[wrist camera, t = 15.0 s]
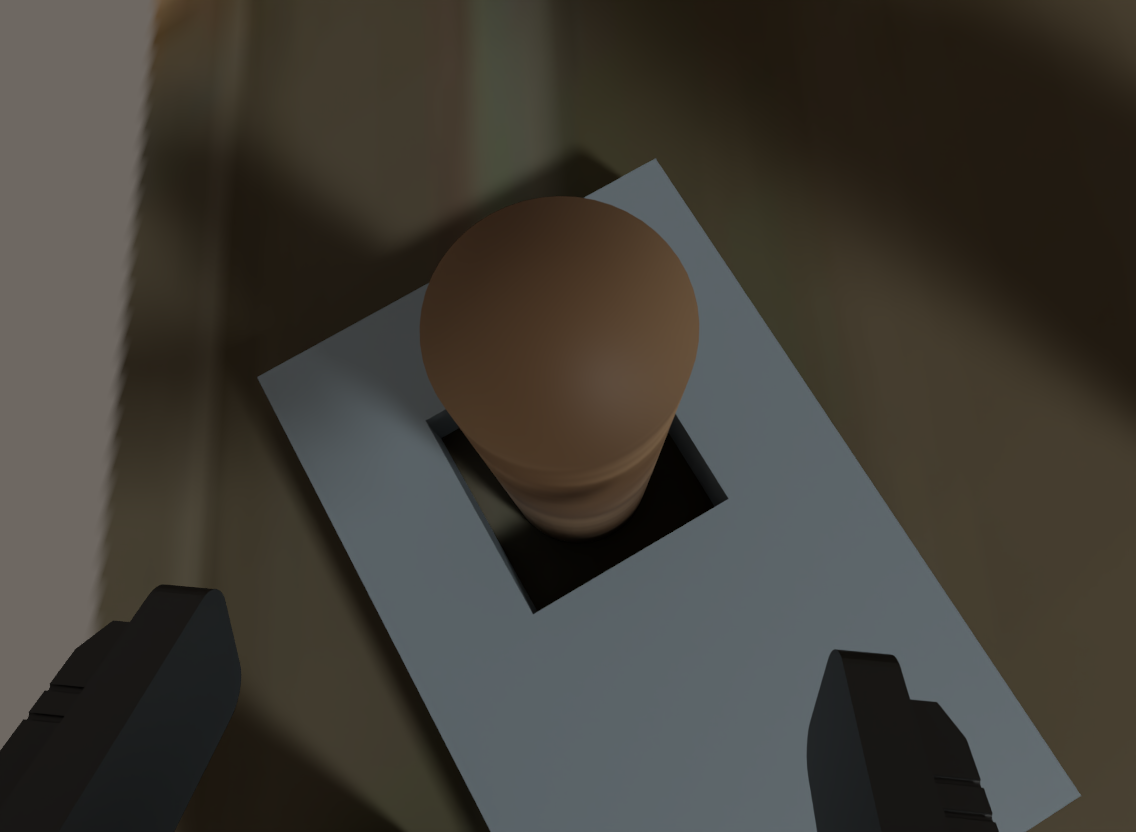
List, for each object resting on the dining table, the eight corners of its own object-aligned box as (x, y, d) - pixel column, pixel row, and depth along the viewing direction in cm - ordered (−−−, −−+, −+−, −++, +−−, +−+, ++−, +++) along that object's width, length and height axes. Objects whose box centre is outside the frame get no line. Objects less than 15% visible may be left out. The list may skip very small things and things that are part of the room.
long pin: (602, 386, 27) (608, 150, 13) (671, 499, 26) (753, 372, 12) (487, 452, 26) (371, 279, 13) (553, 568, 26) (504, 516, 12)
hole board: (650, 198, 28) (654, 158, 26) (1031, 777, 24) (1080, 795, 22) (287, 398, 27) (257, 377, 25) (621, 1041, 23) (624, 1092, 20)
